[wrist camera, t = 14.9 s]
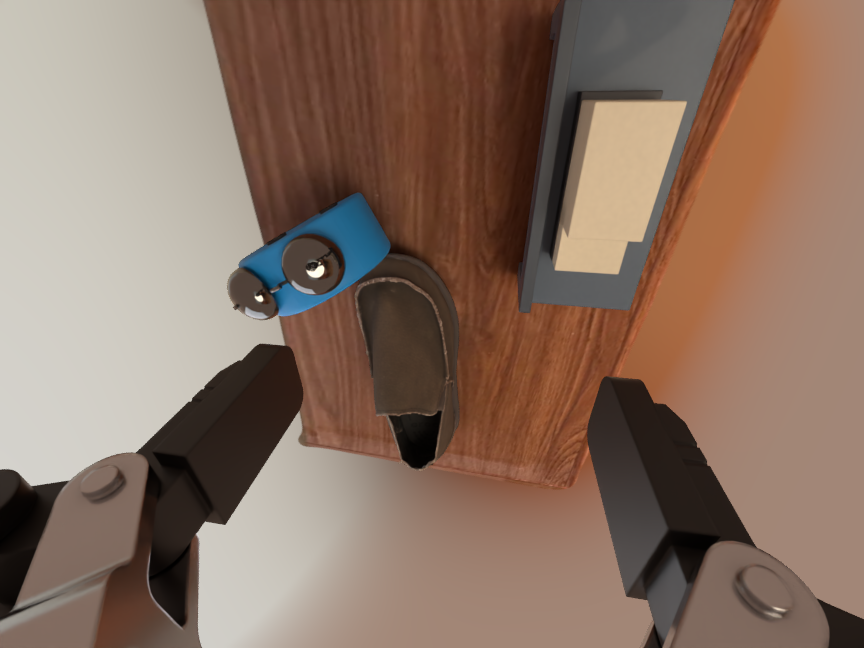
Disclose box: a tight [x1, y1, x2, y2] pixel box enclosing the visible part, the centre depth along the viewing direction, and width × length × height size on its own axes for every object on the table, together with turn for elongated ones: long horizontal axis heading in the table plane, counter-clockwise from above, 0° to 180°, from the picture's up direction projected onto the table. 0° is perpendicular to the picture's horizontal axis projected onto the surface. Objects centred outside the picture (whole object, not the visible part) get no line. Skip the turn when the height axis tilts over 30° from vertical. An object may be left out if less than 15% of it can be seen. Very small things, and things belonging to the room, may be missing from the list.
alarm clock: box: [227, 193, 390, 320], centre depth 34 cm, size 13×6×15 cm, turn 118°
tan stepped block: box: [549, 90, 687, 274], centre depth 25 cm, size 12×5×6 cm, turn 1°
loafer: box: [354, 253, 459, 471], centre depth 43 cm, size 11×30×11 cm, turn 13°
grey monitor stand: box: [517, 0, 735, 313], centre depth 29 cm, size 22×10×8 cm, turn 0°
